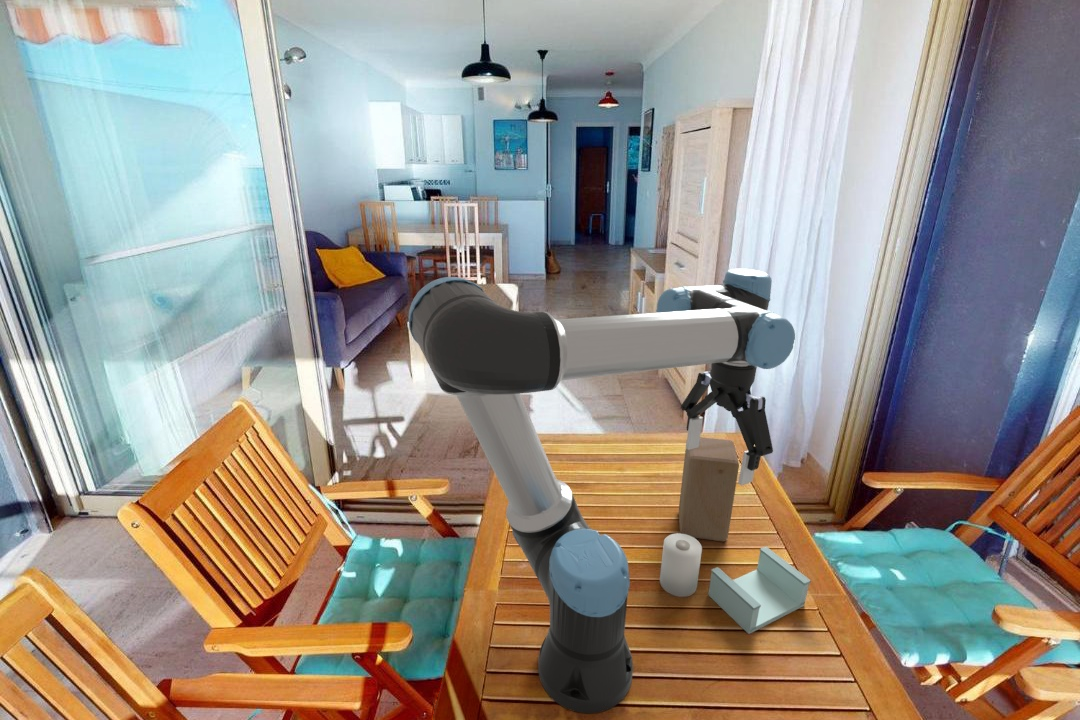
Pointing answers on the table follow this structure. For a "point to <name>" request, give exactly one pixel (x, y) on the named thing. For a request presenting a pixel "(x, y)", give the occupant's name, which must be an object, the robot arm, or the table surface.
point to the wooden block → (708, 489)
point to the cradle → (760, 592)
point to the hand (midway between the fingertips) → (717, 464)
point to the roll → (680, 564)
